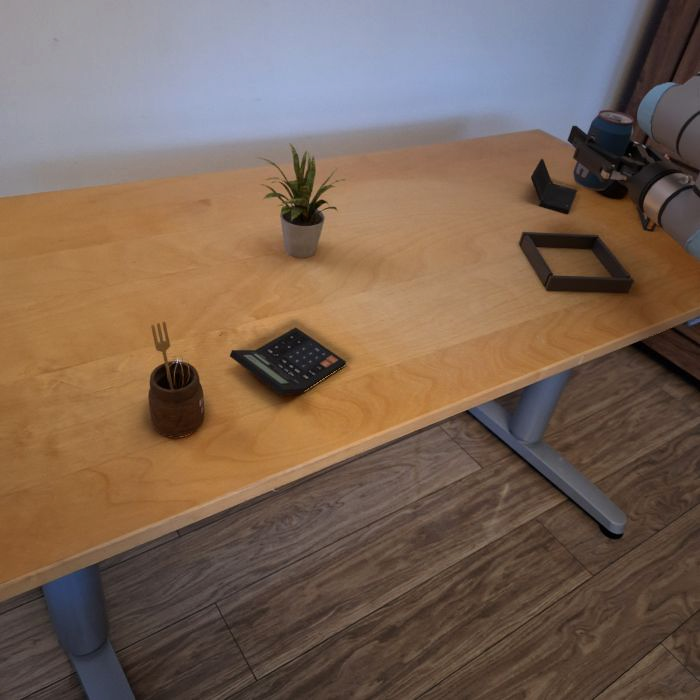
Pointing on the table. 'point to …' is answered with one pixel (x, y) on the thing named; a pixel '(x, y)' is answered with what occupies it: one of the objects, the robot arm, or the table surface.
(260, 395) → the table surface
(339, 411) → the table surface
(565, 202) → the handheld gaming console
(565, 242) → the dark brown square frame
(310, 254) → the house plant
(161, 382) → the utensil holder
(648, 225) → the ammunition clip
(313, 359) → the calculator
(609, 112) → the soda can
